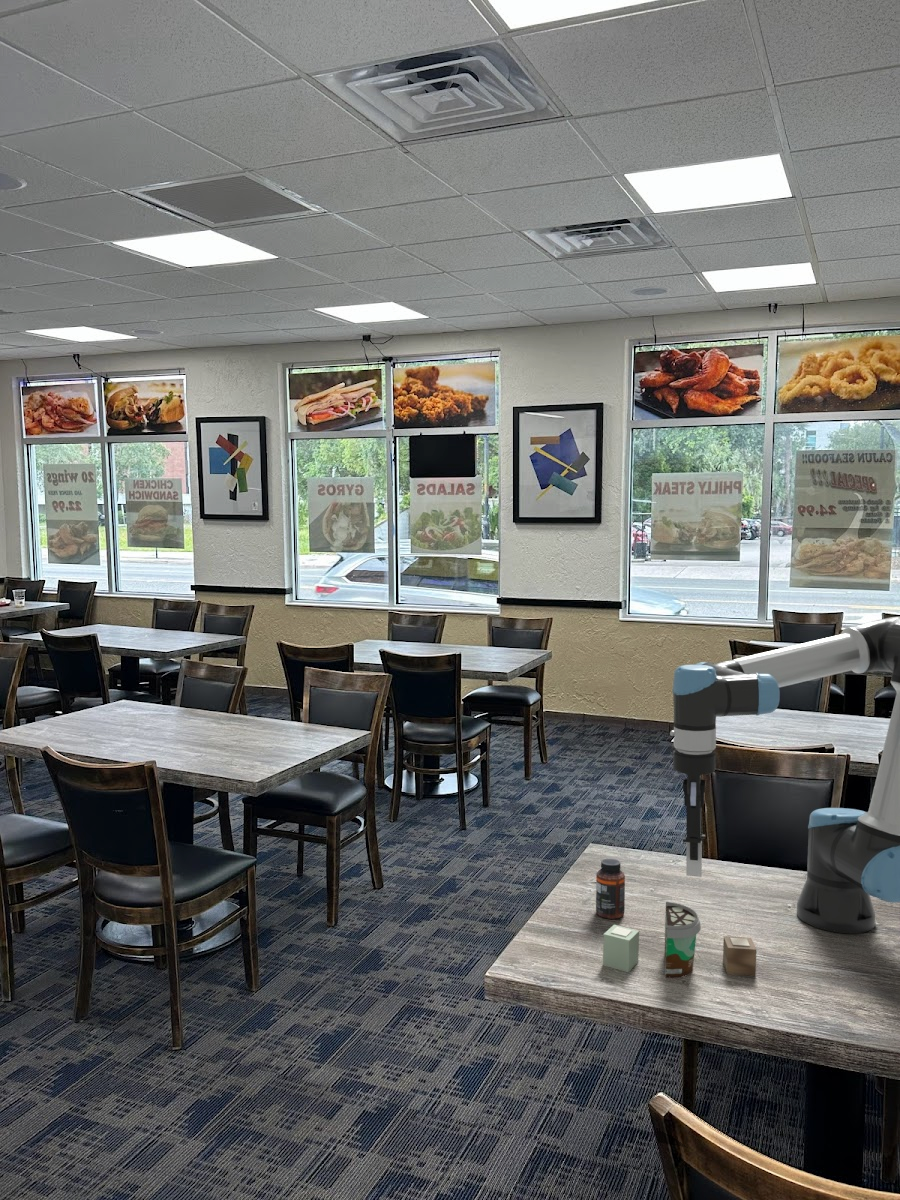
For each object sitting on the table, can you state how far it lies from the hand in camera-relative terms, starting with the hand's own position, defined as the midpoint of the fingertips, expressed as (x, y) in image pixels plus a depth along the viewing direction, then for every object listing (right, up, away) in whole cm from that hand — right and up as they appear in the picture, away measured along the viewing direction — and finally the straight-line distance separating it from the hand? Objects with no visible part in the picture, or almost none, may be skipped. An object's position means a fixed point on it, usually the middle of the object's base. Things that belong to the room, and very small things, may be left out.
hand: (694, 874), depth 175 cm
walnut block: (+8, -17, -1) cm, 19 cm away
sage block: (-14, -17, 0) cm, 22 cm away
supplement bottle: (-12, -15, +23) cm, 30 cm away
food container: (-3, -17, -1) cm, 17 cm away
